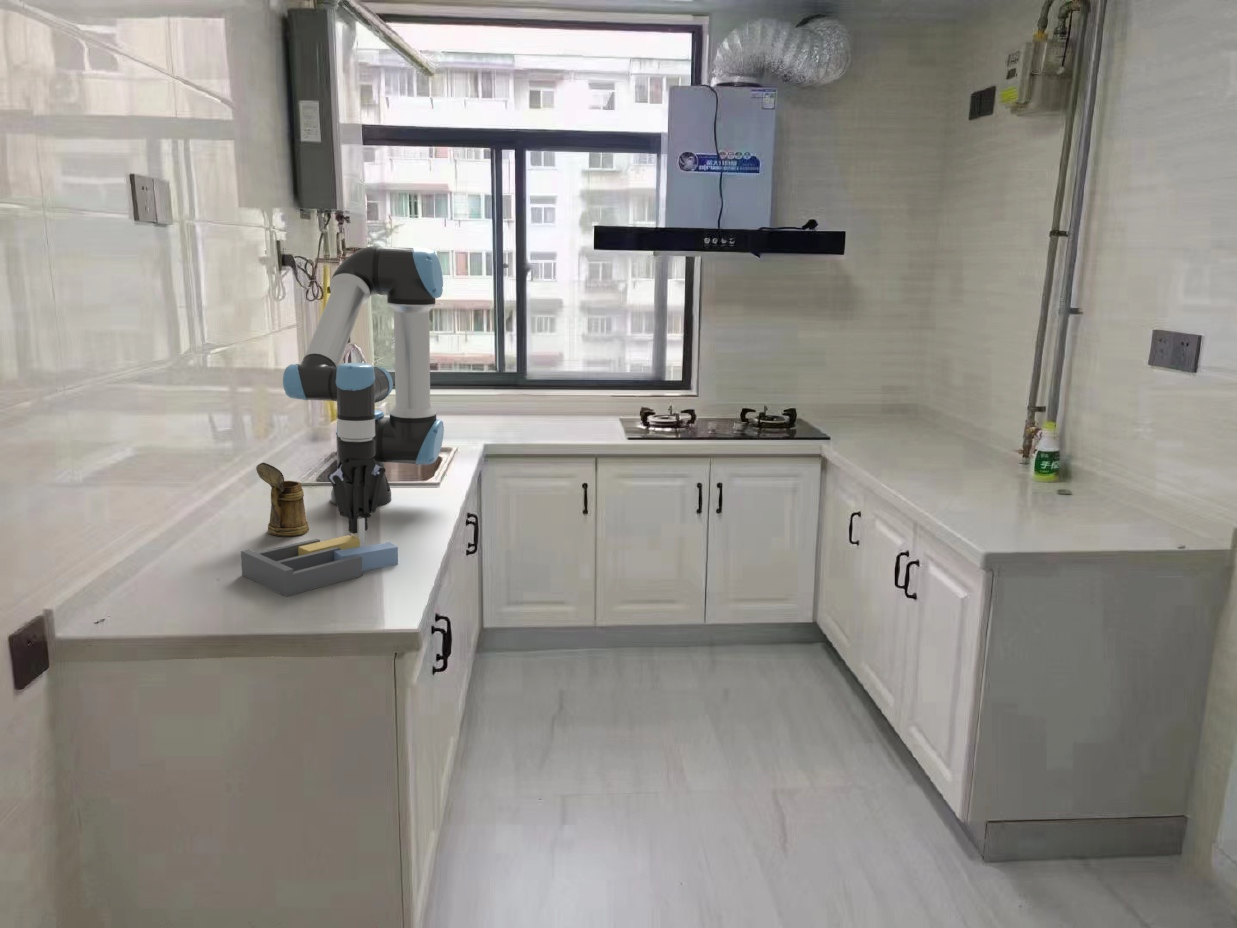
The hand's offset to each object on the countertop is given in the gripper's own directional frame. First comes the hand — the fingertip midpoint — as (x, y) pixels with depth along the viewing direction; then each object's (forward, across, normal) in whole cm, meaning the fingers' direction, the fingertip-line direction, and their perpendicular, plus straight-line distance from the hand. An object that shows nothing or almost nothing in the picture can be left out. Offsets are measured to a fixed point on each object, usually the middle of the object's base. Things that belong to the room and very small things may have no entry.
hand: (358, 546), depth 192 cm
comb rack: (+2, +16, +3) cm, 16 cm away
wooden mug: (+2, +4, -24) cm, 24 cm away
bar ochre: (+2, +7, 0) cm, 7 cm away
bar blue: (+2, +3, +7) cm, 8 cm away
